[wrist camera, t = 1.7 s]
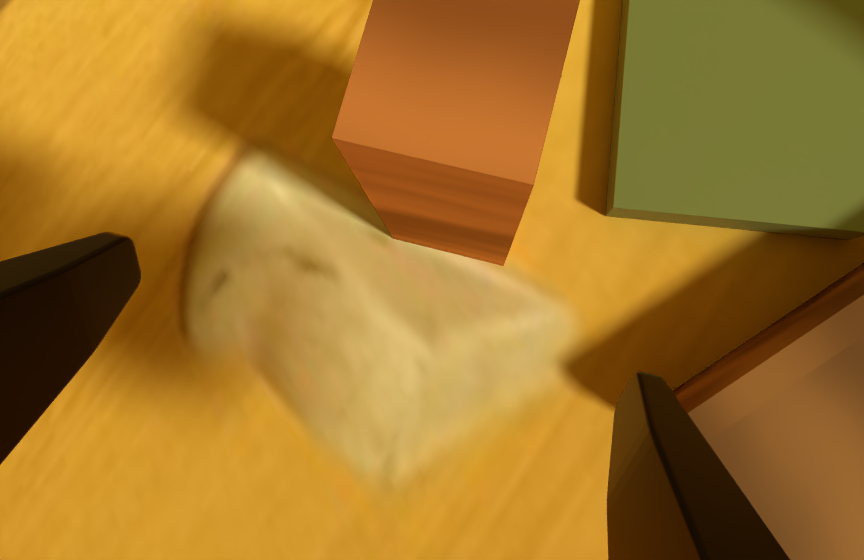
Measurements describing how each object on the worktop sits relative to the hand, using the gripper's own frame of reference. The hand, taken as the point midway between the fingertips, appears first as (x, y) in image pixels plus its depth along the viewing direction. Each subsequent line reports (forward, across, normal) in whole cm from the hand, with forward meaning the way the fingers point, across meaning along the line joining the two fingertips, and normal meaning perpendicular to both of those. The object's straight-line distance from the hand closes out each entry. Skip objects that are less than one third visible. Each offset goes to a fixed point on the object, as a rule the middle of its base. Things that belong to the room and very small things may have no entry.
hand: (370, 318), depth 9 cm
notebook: (+18, -9, -1) cm, 20 cm away
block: (+12, 0, +4) cm, 13 cm away
